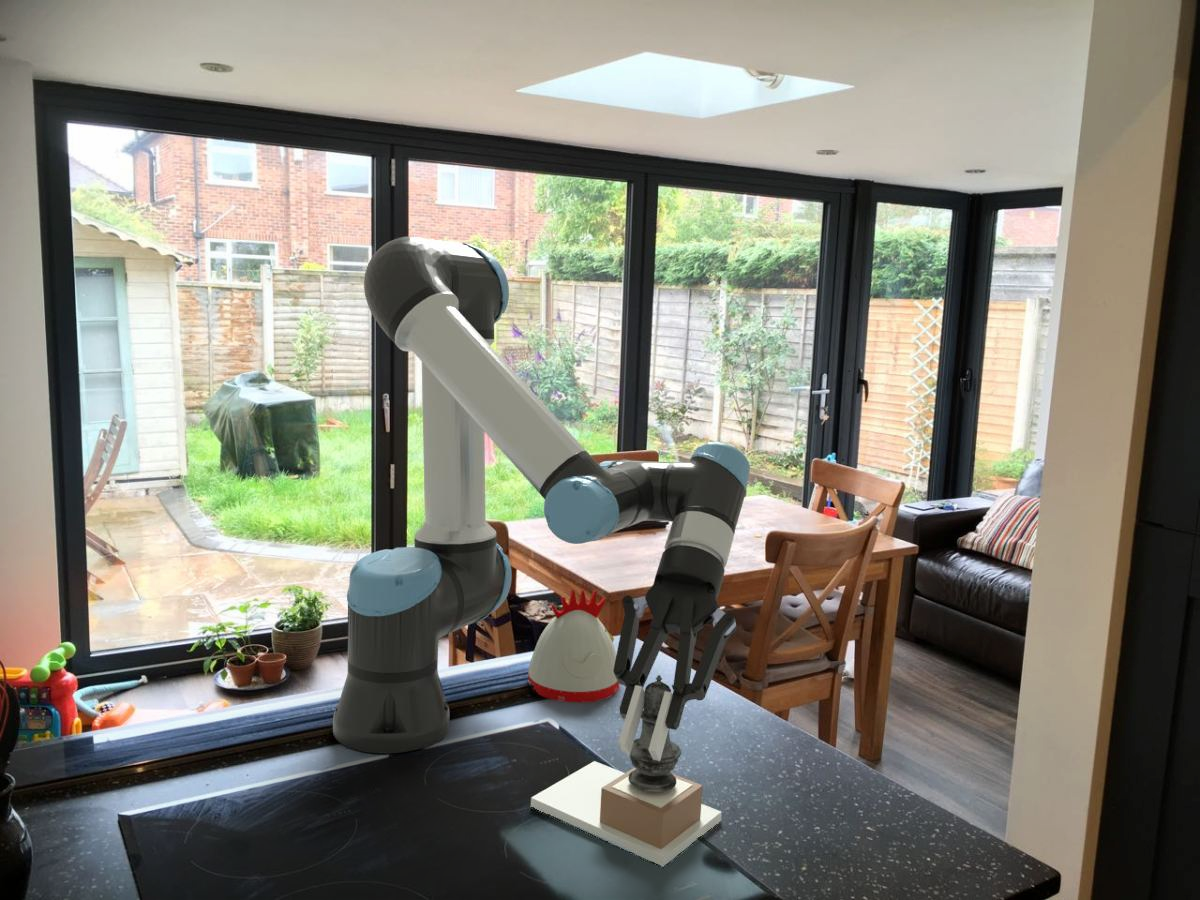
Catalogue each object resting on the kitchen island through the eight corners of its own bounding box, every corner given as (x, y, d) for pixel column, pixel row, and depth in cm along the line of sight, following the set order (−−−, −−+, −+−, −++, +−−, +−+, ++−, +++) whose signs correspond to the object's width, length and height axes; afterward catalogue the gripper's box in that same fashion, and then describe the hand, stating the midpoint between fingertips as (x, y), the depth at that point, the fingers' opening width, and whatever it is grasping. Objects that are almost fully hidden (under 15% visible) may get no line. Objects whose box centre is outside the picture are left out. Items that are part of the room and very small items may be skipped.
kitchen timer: (627, 701, 140) (632, 603, 138) (534, 704, 137) (538, 603, 135) (608, 666, 153) (613, 576, 151) (523, 668, 151) (527, 576, 148)
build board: (530, 807, 109) (532, 763, 108) (593, 770, 118) (596, 729, 117) (663, 867, 98) (666, 820, 97) (720, 821, 108) (724, 777, 107)
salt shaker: (675, 796, 101) (683, 688, 99) (621, 788, 102) (627, 681, 100) (682, 771, 106) (689, 668, 105) (630, 764, 107) (636, 662, 106)
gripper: (763, 586, 111) (717, 782, 98) (637, 566, 117) (578, 749, 104) (757, 552, 106) (707, 755, 93) (624, 533, 111) (560, 722, 98)
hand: (639, 751), depth 98 cm, fingers closed on salt shaker, 3 cm apart
